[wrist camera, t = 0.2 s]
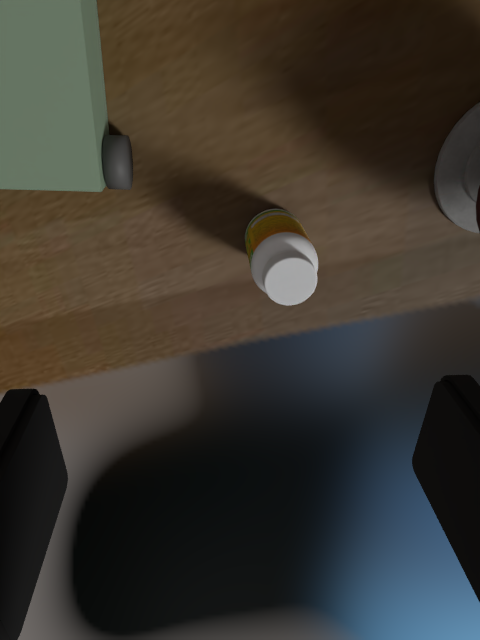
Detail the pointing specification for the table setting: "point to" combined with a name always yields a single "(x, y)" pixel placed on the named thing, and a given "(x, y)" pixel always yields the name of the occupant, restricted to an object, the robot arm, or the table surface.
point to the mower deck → (56, 101)
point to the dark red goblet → (461, 172)
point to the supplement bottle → (281, 257)
